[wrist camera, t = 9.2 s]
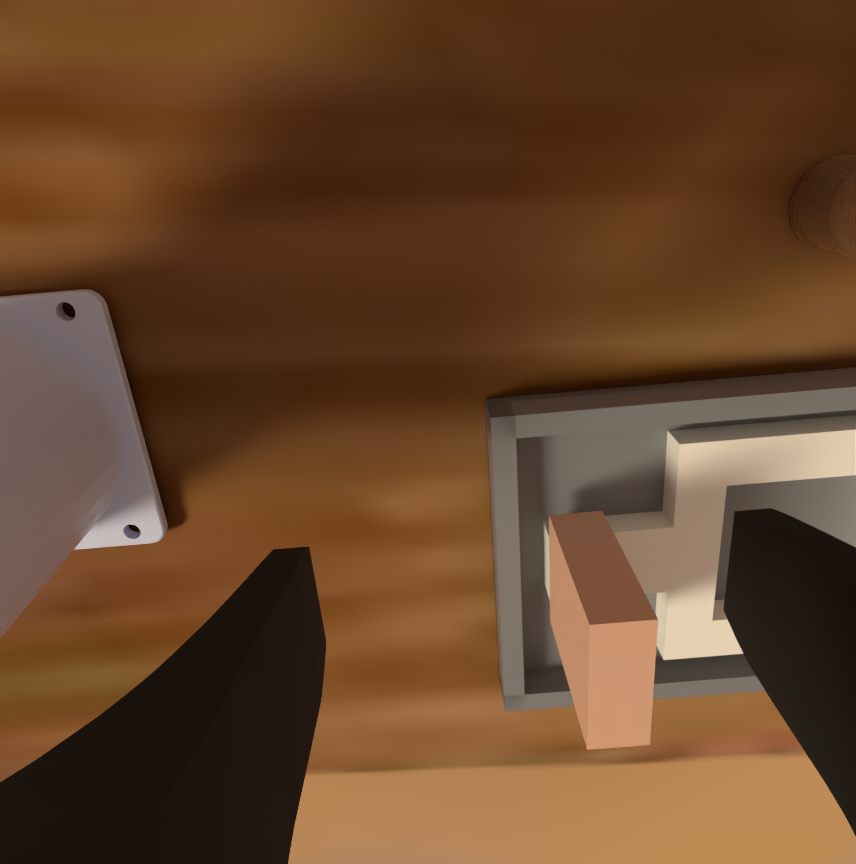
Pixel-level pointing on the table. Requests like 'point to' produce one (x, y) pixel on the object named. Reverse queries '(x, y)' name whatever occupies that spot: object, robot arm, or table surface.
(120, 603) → the table surface
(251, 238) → the table surface
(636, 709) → the square frame with handle
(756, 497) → the tray
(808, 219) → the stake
